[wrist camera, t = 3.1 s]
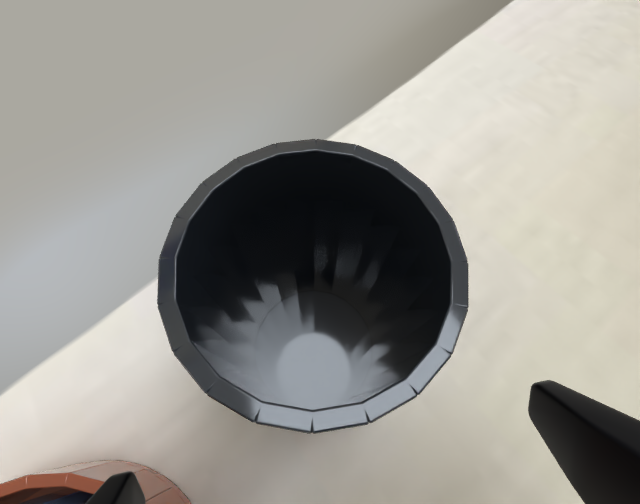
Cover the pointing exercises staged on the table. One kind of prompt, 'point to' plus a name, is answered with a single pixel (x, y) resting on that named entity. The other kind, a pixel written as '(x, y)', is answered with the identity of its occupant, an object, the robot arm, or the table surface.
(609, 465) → the robot arm
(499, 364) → the table surface
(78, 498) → the stack middle
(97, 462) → the stack bottom
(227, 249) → the tumbler
